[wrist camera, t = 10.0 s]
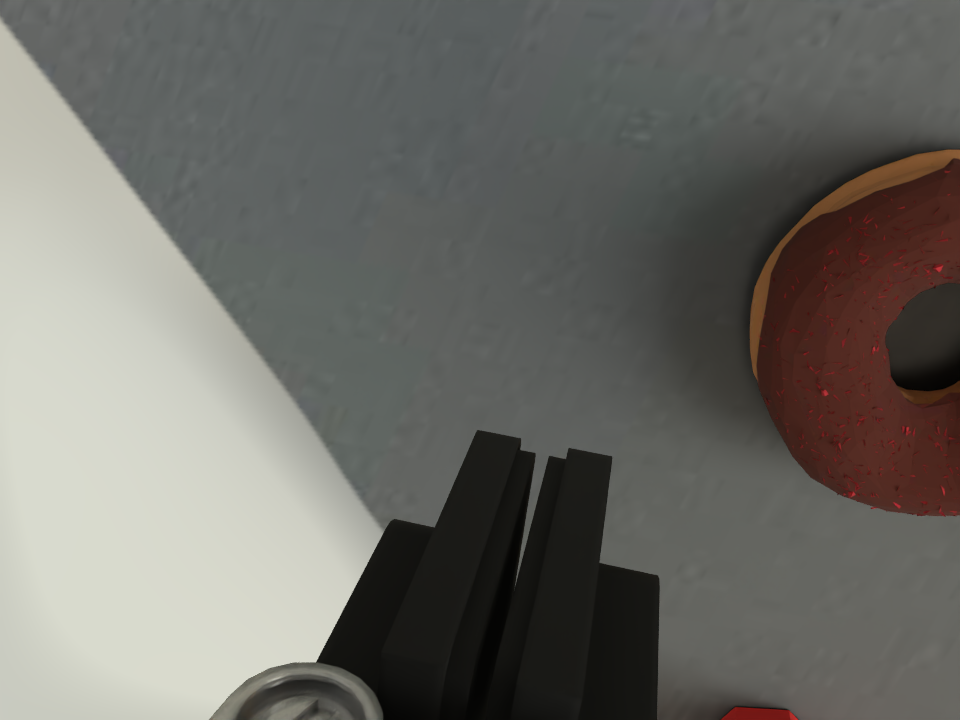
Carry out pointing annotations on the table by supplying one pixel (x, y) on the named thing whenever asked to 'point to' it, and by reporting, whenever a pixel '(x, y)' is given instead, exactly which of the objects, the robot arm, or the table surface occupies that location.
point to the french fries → (758, 714)
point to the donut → (863, 337)
